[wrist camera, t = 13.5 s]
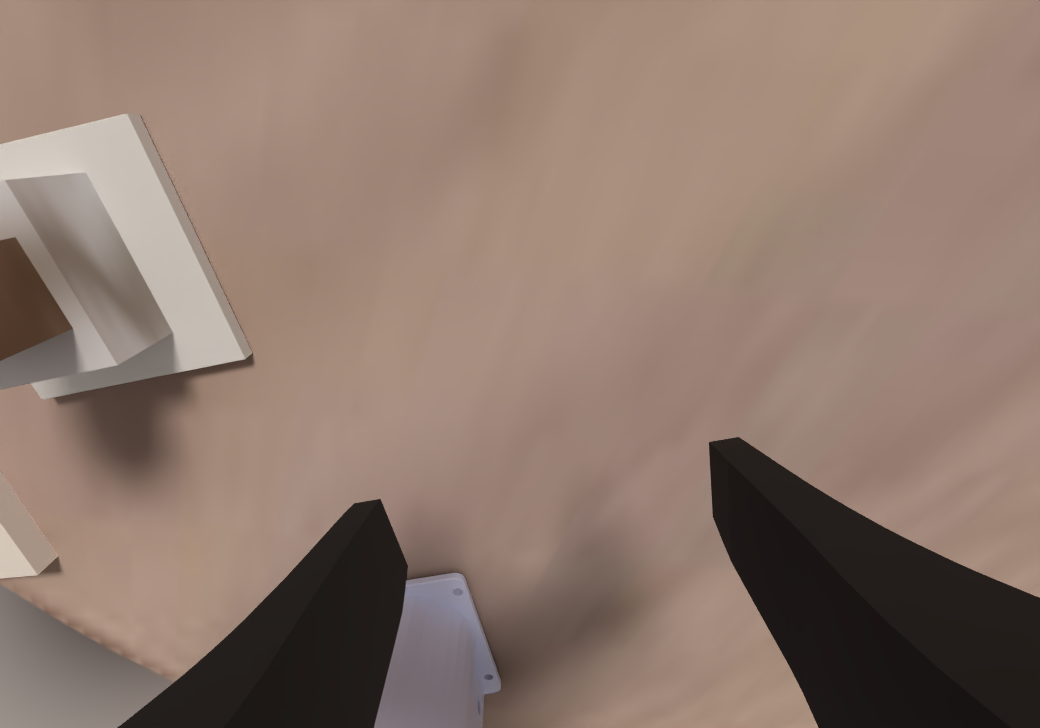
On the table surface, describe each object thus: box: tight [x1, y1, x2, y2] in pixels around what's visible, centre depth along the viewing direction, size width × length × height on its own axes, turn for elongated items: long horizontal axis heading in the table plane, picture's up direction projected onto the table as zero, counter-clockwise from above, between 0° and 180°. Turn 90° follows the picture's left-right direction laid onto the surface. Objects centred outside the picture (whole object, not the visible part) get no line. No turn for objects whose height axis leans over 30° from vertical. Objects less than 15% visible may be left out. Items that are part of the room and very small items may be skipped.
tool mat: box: [0, 113, 252, 400], centre depth 19 cm, size 9×9×1 cm
